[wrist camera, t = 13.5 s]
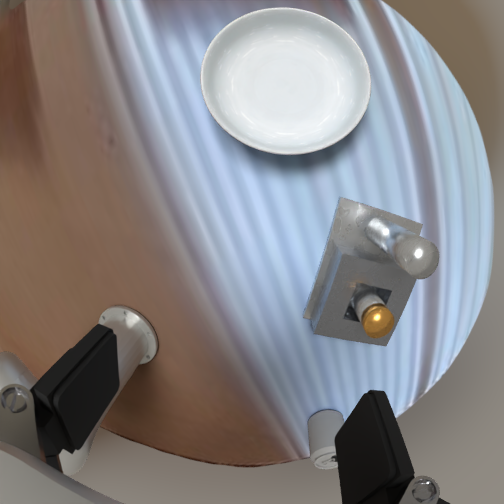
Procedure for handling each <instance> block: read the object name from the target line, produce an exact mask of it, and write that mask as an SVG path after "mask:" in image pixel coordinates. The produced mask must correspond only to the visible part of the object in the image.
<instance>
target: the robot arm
mask: <svg viewBox="0 0 504 504" xmlns="http://www.w3.org/2000/svg"><path fill="white" fill-rule="evenodd" d="M157 349H158V340H157V336H156V333H155V331H154V329H153V327H152V326H151V325H150V323H149V322H148V321H147V320H146V319H145V318H144V317H143V316H142V315H141V314H140V313H138V312H137V311H135V310H133V309H131V308H129V307H125V306H112V307H109V308H108V309H106V310H105V311H104V312H103V313H102V314H101V316H100V319H99V324H97V325H96V326H95V327H94V328H93V329H92V330H91V331H90V332H89V333H88V334H87V335H86V336H84V337H83V338H82V339H81V340H80V341H79V342H78V343H77V344H76V345H75V346H74V347H73V348H71V349H69V350H68V351H67V352H66V353H65V354H64V355H63V356H62V357H61V358H60V359H59V360H58V361H57V362H56V363H55V364H54V365H53V366H52V367H51V368H50V369H49V370H48V371H47V372H46V373H45V374H44V375H43V376H42V377H41V378H40V379H39V380H38V379H37V378H36V377H35V376H34V375H33V374H32V373H31V371H30V370H29V369H28V368H27V367H26V365H25V364H24V363H23V362H22V361H21V360H20V359H19V358H18V357H17V356H16V355H15V354H13V353H11V352H7V351H5V352H1V353H0V504H124V503H121V502H119V501H116V500H114V499H112V498H110V497H107V496H105V495H103V494H101V493H99V492H97V491H95V490H93V489H91V488H89V487H87V486H85V485H83V484H81V483H79V482H77V481H75V480H73V479H72V478H70V477H68V476H69V475H73V474H75V473H77V472H78V471H79V470H80V469H81V468H82V467H83V465H84V463H85V462H86V460H87V457H88V455H89V452H90V449H91V446H92V443H93V440H94V437H95V435H96V432H97V430H98V428H99V426H100V424H101V422H102V421H103V419H104V417H105V415H106V414H107V412H108V411H109V409H110V407H111V406H112V404H113V403H114V401H115V400H116V398H117V397H118V395H119V394H120V392H121V391H122V389H123V387H124V386H125V384H126V383H127V381H128V380H129V378H131V377H132V374H133V372H134V371H135V369H136V368H137V366H138V365H139V364H144V363H147V362H149V361H150V360H152V358H153V357H154V356H155V354H156V352H157ZM334 442H335V449H336V456H337V463H338V470H339V478H340V487H341V495H342V504H450V503H448V502H446V501H444V500H442V499H441V498H439V495H440V490H439V486H438V484H437V483H436V482H435V480H433V479H432V478H430V477H427V476H418V477H416V478H415V477H414V469H413V466H412V463H411V460H410V457H409V454H408V451H407V448H406V446H405V443H404V440H403V437H402V434H401V432H400V429H399V426H398V424H397V421H396V418H395V416H394V413H393V410H392V408H391V405H390V403H389V400H388V398H387V395H386V393H385V392H384V391H377V390H370V391H368V393H365V394H364V395H363V396H362V397H361V399H360V401H359V402H358V404H357V405H356V407H355V408H354V410H353V411H352V413H351V414H350V416H349V417H348V418H347V420H346V421H345V423H344V424H343V425H342V427H341V428H340V430H339V431H338V432H337V434H336V436H335V440H334Z"/></svg>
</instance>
